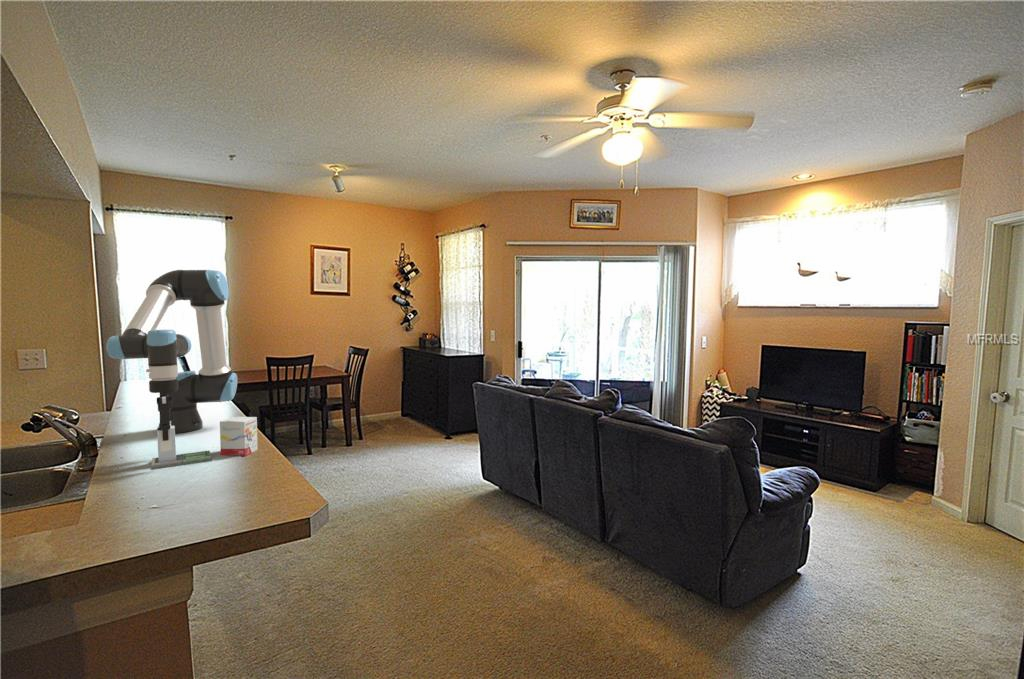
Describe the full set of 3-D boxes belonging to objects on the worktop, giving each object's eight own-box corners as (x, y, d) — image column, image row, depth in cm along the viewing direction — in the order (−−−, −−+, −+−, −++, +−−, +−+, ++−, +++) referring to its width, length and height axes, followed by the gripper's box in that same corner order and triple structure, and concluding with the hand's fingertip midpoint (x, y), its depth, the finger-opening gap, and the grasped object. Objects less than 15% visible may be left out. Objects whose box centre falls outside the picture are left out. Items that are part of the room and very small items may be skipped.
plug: (159, 461, 163) (157, 424, 162) (176, 459, 165) (174, 423, 165) (158, 465, 159) (156, 427, 159) (176, 462, 162) (174, 425, 161)
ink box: (245, 456, 170) (244, 421, 169) (219, 456, 170) (218, 421, 169) (258, 449, 178) (257, 415, 178) (234, 449, 179) (233, 415, 178)
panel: (152, 460, 166) (152, 456, 165) (209, 452, 174) (209, 448, 174) (150, 471, 155) (150, 466, 155) (212, 462, 163) (211, 457, 163)
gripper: (150, 375, 169) (153, 439, 170) (146, 384, 148) (150, 457, 149) (177, 374, 173) (180, 436, 174) (177, 382, 152) (180, 452, 153)
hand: (166, 446), depth 162 cm, fingers open, 13 cm apart
